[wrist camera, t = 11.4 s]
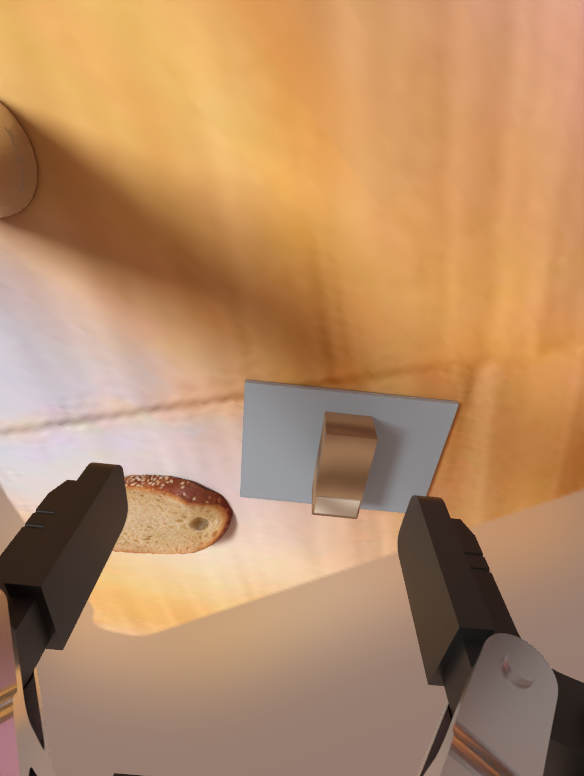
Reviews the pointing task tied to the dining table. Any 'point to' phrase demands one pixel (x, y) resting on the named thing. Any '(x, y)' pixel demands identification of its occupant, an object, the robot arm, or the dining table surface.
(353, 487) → the brown rectangular block
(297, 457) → the slate mat
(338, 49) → the dining table surface
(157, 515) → the bread slice
